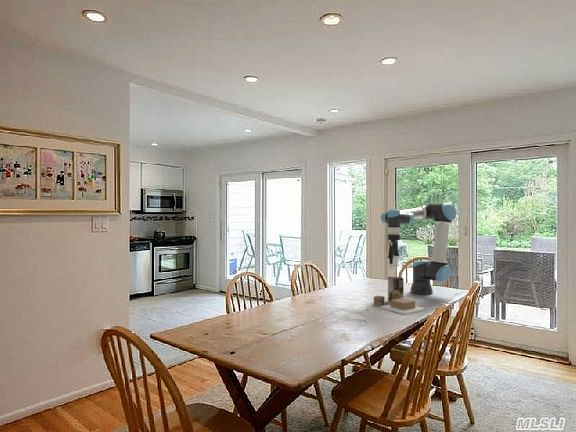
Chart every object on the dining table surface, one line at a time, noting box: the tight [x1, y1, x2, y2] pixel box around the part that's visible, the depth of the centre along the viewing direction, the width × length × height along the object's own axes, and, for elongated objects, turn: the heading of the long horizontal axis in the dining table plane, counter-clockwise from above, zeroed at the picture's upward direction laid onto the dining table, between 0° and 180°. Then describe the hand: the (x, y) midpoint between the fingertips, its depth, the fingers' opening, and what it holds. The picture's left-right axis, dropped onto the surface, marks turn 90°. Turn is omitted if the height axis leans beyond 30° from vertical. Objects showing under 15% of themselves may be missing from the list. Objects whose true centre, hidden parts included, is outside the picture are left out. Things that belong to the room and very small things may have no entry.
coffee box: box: [387, 276, 405, 304], centre depth 253 cm, size 9×6×16 cm
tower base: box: [380, 298, 426, 316], centre depth 236 cm, size 18×18×5 cm
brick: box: [373, 295, 385, 307], centre depth 248 cm, size 5×5×5 cm
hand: (393, 267), depth 249 cm, fingers open, 13 cm apart
